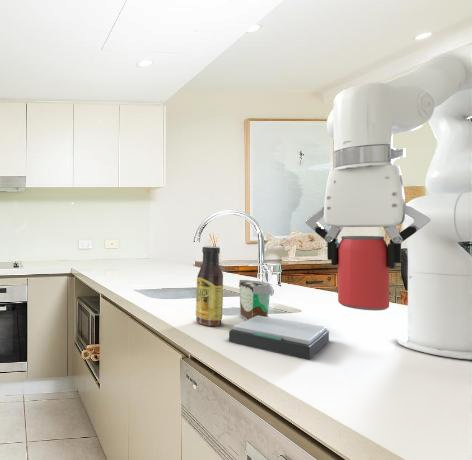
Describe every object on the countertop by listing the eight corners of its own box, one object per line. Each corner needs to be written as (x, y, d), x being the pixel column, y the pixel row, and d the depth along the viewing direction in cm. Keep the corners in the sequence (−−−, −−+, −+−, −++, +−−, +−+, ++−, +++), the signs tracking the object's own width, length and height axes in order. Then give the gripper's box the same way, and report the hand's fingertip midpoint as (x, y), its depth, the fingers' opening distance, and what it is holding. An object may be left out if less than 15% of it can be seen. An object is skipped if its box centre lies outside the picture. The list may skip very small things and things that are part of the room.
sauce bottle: (191, 320, 94) (191, 245, 94) (213, 320, 95) (214, 246, 95) (204, 327, 88) (205, 247, 88) (228, 327, 88) (228, 247, 88)
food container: (280, 326, 89) (281, 286, 89) (253, 325, 90) (254, 285, 90) (262, 315, 101) (262, 280, 101) (238, 314, 102) (238, 279, 102)
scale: (256, 327, 88) (256, 314, 88) (328, 341, 77) (329, 326, 77) (228, 341, 77) (229, 326, 77) (309, 359, 66) (309, 342, 66)
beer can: (339, 308, 60) (339, 236, 60) (336, 301, 65) (335, 235, 65) (393, 313, 56) (393, 237, 56) (385, 305, 61) (384, 235, 61)
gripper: (437, 155, 56) (438, 268, 57) (306, 169, 69) (306, 261, 69) (436, 148, 51) (437, 272, 52) (295, 165, 64) (296, 264, 64)
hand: (362, 265), depth 60 cm, fingers closed on beer can, 6 cm apart
